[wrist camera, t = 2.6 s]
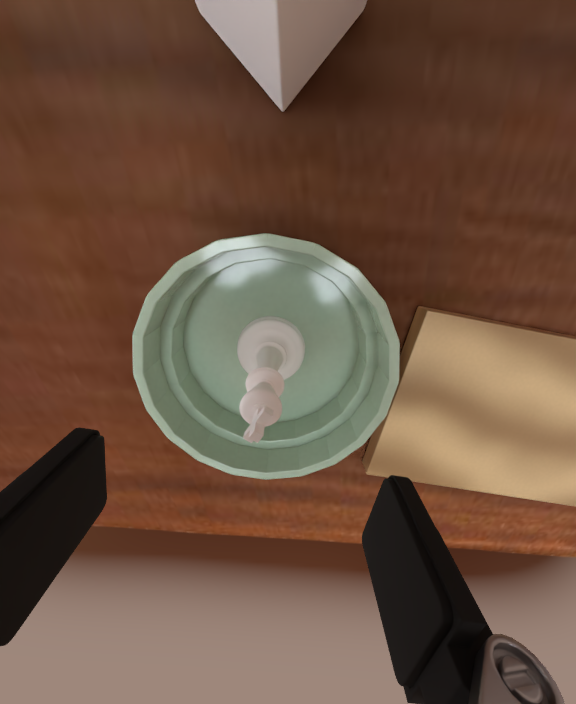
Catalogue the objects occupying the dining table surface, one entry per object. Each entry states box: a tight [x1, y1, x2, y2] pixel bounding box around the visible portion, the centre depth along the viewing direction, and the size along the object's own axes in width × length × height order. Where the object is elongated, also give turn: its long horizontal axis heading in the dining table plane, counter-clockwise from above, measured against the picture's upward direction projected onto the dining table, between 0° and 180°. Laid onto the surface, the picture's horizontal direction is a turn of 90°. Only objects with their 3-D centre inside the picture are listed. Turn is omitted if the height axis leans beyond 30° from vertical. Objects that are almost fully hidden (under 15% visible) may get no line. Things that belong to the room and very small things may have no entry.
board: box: [362, 306, 576, 506], centre depth 22 cm, size 14×20×2 cm
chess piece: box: [237, 316, 305, 443], centre depth 16 cm, size 5×5×10 cm
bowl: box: [133, 233, 400, 480], centre depth 19 cm, size 15×15×5 cm
